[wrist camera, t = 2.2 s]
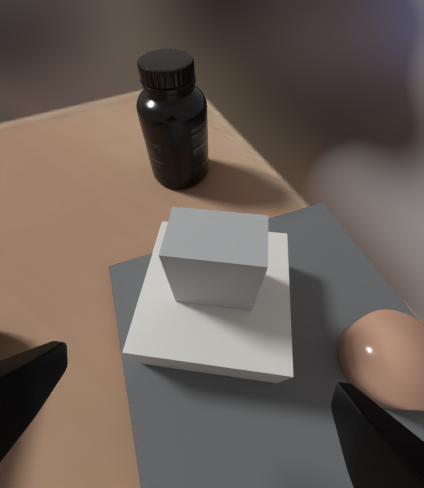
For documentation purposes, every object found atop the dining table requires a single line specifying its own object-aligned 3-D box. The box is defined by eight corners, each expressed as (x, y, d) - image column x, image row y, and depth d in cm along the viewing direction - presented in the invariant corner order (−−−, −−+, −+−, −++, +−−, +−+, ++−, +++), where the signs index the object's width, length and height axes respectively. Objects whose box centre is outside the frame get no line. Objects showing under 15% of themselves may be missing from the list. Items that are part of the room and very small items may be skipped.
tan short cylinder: (443, 389, 17) (479, 387, 15) (372, 425, 16) (398, 428, 14) (384, 310, 21) (406, 298, 18) (321, 336, 20) (336, 326, 17)
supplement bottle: (197, 148, 34) (190, 38, 23) (217, 181, 30) (218, 68, 20) (147, 161, 32) (117, 50, 22) (162, 197, 29) (134, 84, 19)
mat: (496, 427, 17) (505, 428, 16) (162, 614, 13) (160, 622, 12) (321, 206, 28) (322, 202, 27) (111, 269, 24) (108, 266, 23)
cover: (276, 383, 18) (337, 360, 9) (141, 363, 19) (74, 324, 10) (275, 261, 23) (312, 172, 14) (170, 250, 24) (144, 160, 15)
